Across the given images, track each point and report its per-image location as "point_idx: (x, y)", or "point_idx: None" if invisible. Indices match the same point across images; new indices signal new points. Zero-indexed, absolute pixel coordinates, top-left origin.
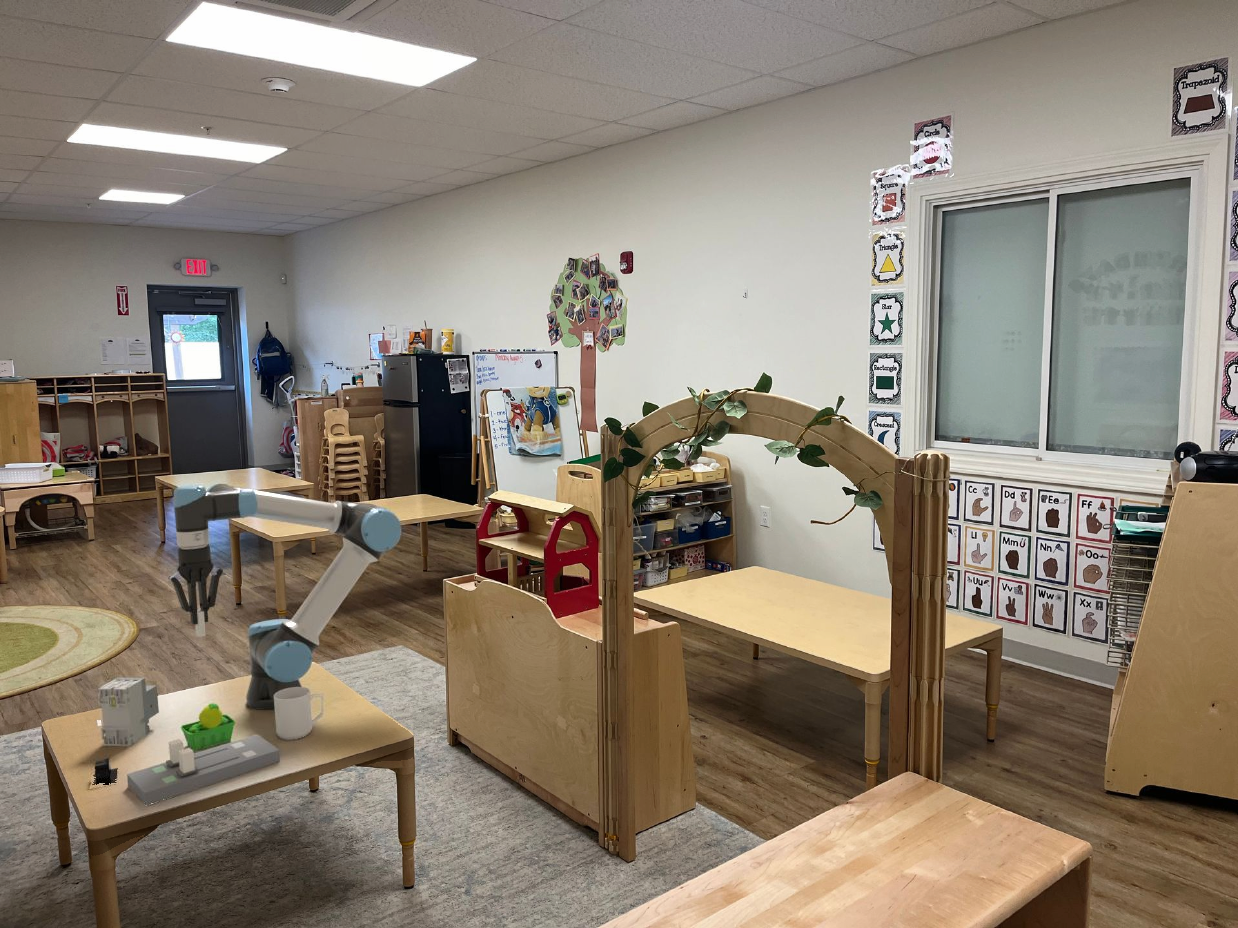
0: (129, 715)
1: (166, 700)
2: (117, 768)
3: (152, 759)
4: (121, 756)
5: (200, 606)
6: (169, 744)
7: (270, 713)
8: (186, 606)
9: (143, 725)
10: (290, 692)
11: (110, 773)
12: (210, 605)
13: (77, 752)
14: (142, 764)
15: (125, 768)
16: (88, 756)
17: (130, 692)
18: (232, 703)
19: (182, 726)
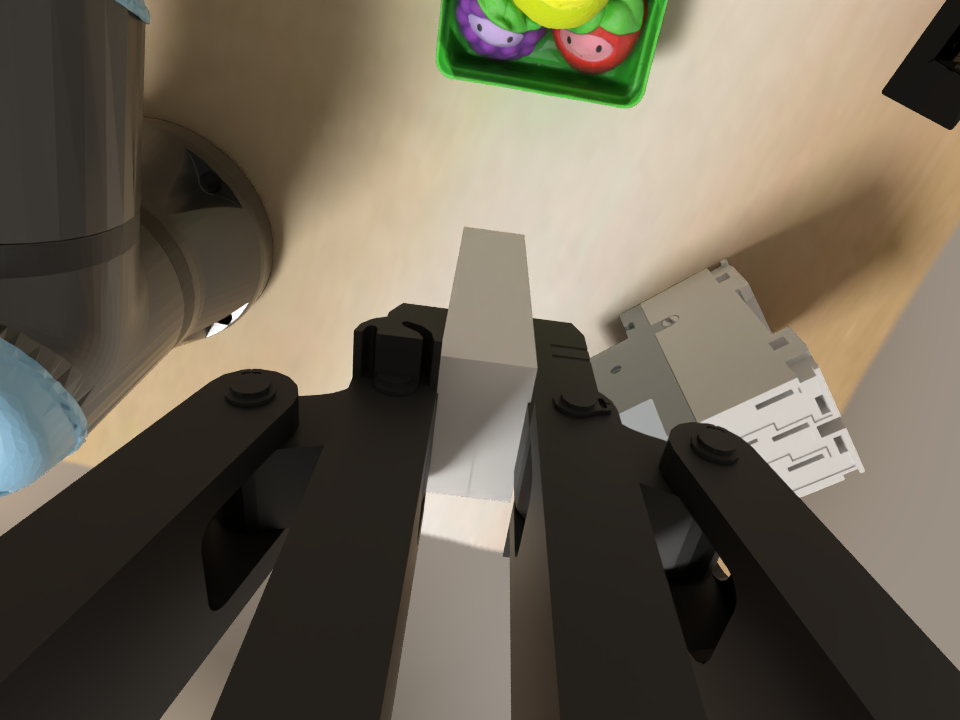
0: (752, 311)
1: (446, 510)
2: (886, 86)
3: (770, 51)
4: (801, 190)
5: (424, 501)
6: None
7: (231, 103)
8: (751, 489)
9: (657, 316)
10: None
11: (957, 31)
12: (296, 391)
13: (838, 347)
14: (821, 34)
15: (875, 56)
16: (847, 287)
17: (773, 366)
18: (305, 328)
19: (635, 95)
